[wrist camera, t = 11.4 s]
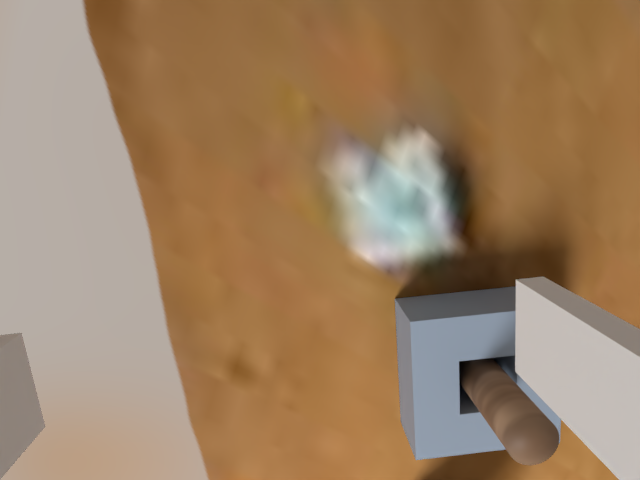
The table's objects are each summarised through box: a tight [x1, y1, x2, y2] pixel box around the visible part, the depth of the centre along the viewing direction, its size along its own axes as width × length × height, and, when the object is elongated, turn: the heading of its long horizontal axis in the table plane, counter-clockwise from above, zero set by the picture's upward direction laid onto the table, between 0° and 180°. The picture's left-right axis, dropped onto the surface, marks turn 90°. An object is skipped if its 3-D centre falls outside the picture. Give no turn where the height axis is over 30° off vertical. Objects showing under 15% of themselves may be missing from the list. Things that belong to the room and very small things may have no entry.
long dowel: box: [459, 358, 559, 465], centre depth 41 cm, size 4×4×14 cm
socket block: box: [395, 286, 561, 460], centre depth 45 cm, size 14×14×6 cm
